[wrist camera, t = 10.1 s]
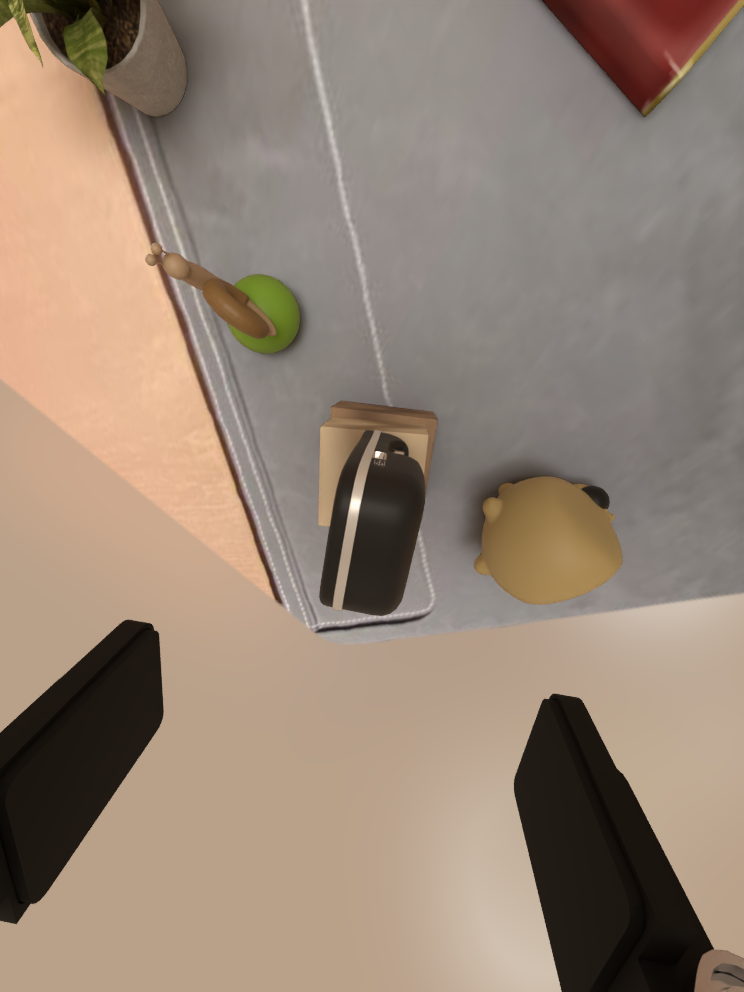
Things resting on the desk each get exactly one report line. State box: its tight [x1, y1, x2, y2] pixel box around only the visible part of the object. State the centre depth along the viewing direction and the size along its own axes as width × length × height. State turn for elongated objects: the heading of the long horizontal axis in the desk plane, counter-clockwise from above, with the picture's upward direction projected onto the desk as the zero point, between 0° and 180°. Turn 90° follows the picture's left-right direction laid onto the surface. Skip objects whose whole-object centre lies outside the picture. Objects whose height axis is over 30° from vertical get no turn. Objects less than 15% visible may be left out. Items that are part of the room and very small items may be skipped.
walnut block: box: [330, 401, 437, 493], centre depth 33 cm, size 8×8×5 cm
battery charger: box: [319, 430, 425, 616], centre depth 21 cm, size 7×4×11 cm, turn 170°
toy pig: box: [474, 476, 622, 604], centre depth 32 cm, size 10×12×11 cm
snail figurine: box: [145, 243, 300, 354], centre depth 27 cm, size 5×6×12 cm
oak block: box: [318, 417, 428, 526], centre depth 29 cm, size 7×7×4 cm
